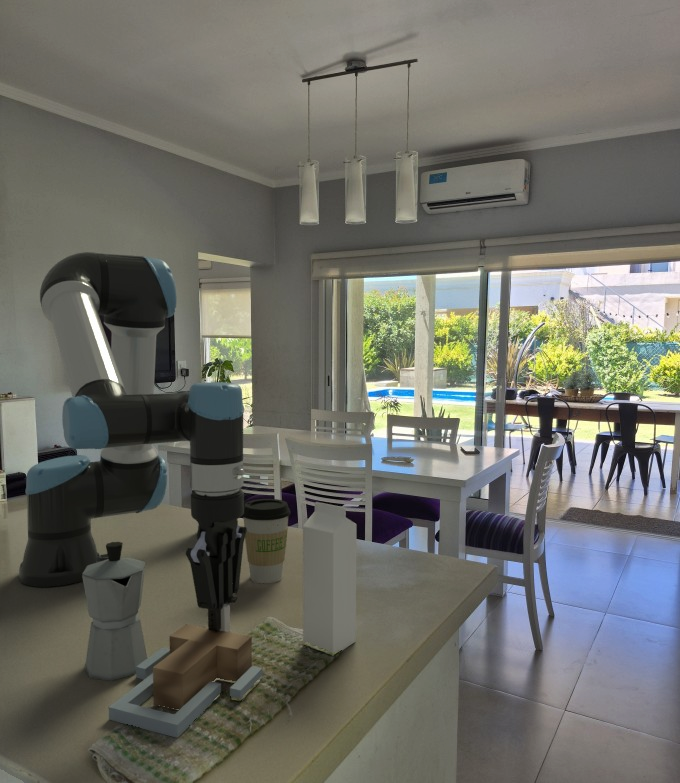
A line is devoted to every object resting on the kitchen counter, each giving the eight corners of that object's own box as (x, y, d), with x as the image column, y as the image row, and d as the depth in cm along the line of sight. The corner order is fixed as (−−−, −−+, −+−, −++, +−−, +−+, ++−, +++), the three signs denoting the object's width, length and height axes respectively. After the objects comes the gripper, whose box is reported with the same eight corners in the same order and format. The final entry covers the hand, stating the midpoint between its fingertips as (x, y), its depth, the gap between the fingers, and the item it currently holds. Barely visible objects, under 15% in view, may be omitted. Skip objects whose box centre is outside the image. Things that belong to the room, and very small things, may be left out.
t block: (132, 699, 80) (132, 662, 80) (186, 656, 92) (185, 624, 91) (205, 717, 77) (204, 678, 76) (251, 670, 88) (251, 636, 87)
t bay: (88, 713, 77) (87, 701, 77) (162, 657, 91) (162, 647, 91) (201, 744, 71) (200, 731, 71) (262, 679, 86) (262, 667, 85)
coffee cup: (282, 589, 117) (282, 511, 116) (234, 584, 119) (233, 508, 118) (296, 570, 127) (296, 499, 126) (251, 567, 129) (250, 496, 128)
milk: (326, 631, 100) (326, 497, 99) (356, 642, 96) (357, 503, 95) (302, 645, 95) (302, 505, 94) (333, 657, 92) (333, 511, 90)
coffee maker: (160, 675, 86) (157, 550, 85) (94, 694, 82) (90, 562, 80) (132, 634, 99) (130, 524, 98) (73, 648, 94) (70, 533, 93)
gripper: (215, 502, 81) (218, 674, 83) (261, 482, 93) (263, 632, 95) (168, 497, 84) (171, 664, 86) (218, 478, 96) (220, 625, 98)
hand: (219, 647), depth 90 cm, fingers closed
